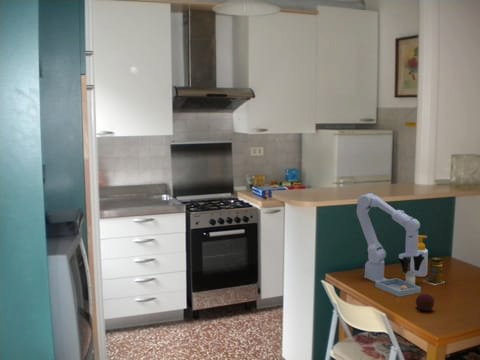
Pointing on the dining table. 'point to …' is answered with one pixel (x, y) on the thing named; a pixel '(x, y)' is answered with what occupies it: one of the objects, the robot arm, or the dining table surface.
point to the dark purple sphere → (425, 302)
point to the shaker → (410, 277)
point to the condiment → (435, 271)
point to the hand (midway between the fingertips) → (410, 271)
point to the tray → (397, 287)
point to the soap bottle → (423, 266)
